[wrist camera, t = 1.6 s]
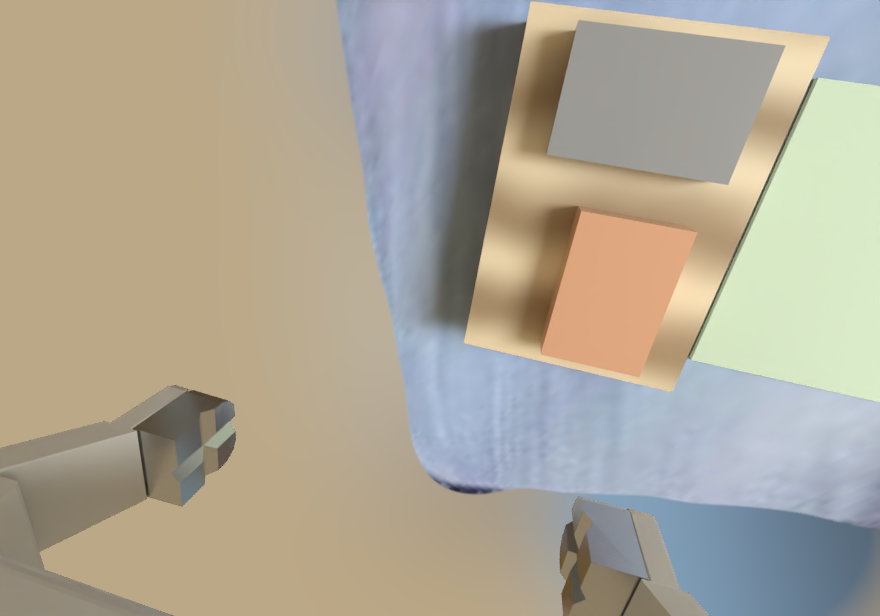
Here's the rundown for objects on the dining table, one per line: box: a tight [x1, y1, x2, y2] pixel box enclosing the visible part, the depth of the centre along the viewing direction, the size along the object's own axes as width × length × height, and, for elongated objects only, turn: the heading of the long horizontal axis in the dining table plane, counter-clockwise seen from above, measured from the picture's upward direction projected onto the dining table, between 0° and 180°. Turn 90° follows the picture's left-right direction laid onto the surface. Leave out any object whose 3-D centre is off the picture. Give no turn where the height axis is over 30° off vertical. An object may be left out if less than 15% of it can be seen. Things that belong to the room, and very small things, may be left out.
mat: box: [689, 78, 880, 402], centre depth 26 cm, size 18×14×1 cm
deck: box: [464, 1, 830, 392], centre depth 26 cm, size 20×14×4 cm
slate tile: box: [546, 20, 785, 185], centre depth 21 cm, size 9×6×2 cm, turn 81°
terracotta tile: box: [540, 206, 698, 377], centre depth 25 cm, size 9×6×2 cm, turn 171°
